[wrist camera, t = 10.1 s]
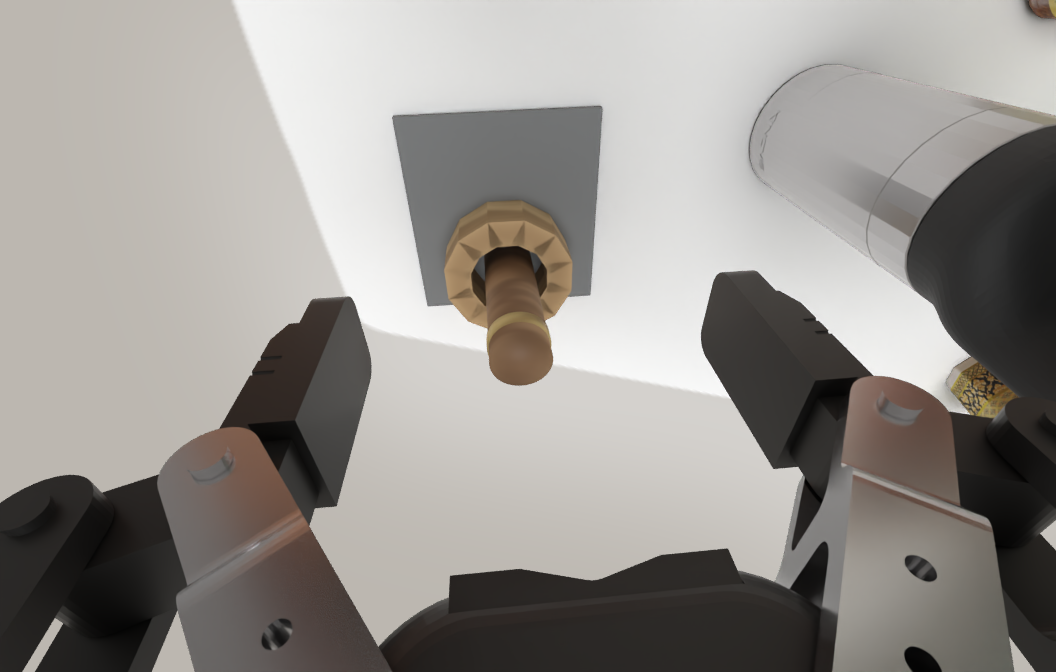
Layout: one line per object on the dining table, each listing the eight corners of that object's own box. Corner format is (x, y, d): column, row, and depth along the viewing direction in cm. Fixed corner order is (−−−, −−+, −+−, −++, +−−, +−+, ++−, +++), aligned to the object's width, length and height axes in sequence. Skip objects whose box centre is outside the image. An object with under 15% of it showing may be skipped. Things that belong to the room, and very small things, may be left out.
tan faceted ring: (565, 197, 38) (574, 217, 34) (563, 301, 44) (570, 326, 41) (440, 204, 37) (437, 225, 34) (455, 309, 43) (454, 335, 40)
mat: (601, 106, 34) (602, 107, 34) (589, 292, 44) (590, 295, 44) (393, 115, 33) (392, 117, 33) (428, 303, 43) (427, 306, 43)
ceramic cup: (917, 406, 58) (986, 473, 50) (952, 344, 52) (1037, 409, 44) (1021, 390, 58) (1107, 455, 50) (1068, 327, 52) (1173, 389, 44)
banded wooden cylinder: (531, 233, 39) (554, 332, 28) (531, 277, 42) (554, 383, 31) (481, 236, 39) (485, 337, 28) (484, 280, 42) (490, 389, 30)
